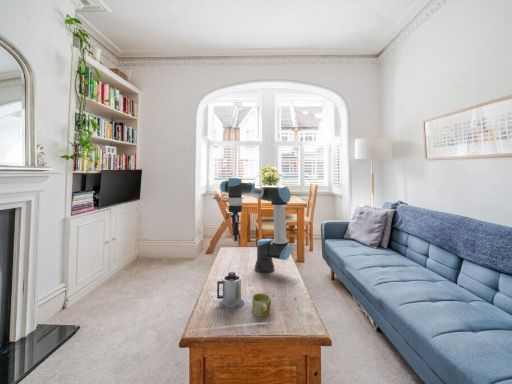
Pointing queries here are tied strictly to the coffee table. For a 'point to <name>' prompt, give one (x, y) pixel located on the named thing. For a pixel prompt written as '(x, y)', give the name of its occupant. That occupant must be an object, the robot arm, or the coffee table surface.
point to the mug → (261, 304)
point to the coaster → (231, 308)
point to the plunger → (231, 275)
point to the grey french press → (230, 291)
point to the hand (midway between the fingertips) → (235, 246)
